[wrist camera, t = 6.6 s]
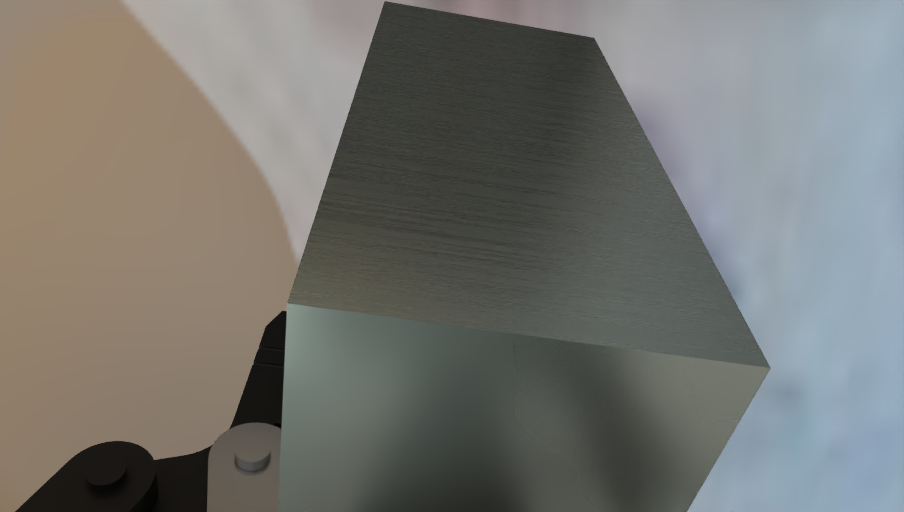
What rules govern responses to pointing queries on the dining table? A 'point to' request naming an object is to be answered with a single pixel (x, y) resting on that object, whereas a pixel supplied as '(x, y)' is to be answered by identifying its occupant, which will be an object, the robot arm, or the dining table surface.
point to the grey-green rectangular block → (503, 293)
